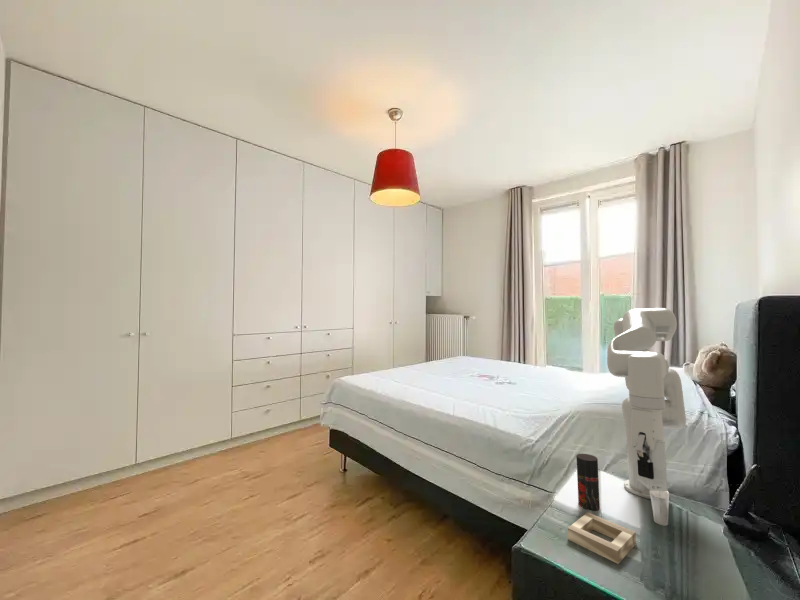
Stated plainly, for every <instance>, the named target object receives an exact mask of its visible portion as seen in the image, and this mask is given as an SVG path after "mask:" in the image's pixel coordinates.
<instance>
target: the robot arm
mask: <svg viewBox="0 0 800 600" xmlns="http://www.w3.org/2000/svg"><path fill="white" fill-rule="evenodd" d="M677 326H678V322H677V317H676V315H675V313H674V312H673V311H672V310H671V309H669V308H665V307H654V308H649V307H647V308H633V309H629V310H627V311H626V312H625V313H623V315H622V318H619V319H617V320H615V321H614V324H613V331H614V335H615V337H614V338H613V339H611V341H610V342H609V343H608V347H607V353H606V355H607V357H606V358H607V359H606V362H607V363H606V364H607V369H608V371H609V373H610V374H611V375H613V376H614V377H617V378H618V377H620V378H624V379H625V380H624V381H625V385H626V388H627V389H628V397H627V398H625V399H623V401H622V403H621V409H622V415H623V419H624V426H625V433H626V436H625V437H626V449H627V453H626V454H627V468H628V469H627V471H628V479H626V480H624V482H623V487H624V489H625V490H627V492H629V493H632V494H634V495H635V496H638V497H641V498H644V499H649V500H651V497H650V490H649V489H648V488H647V487H645V486H644V485H643V484H642V483H641V482H639V481H638V480H637V465H636V451H637V463H638V475H639V476H642V477H645V478H649V479H654V469H653V462H651V460H652V451H654V450H656V448H657V442H658V441H659V440H661V441H663V442H664V436H665V435H664V429H666V430H675V431H679V430H683V429H684V428H685V427H686V424H687V421H686V420H687V418H686V409H685V407H686V406H685V401H684V391H683V386H682V385H683V384H682V379H681V377H680V375H679V373H678V372H677V371H676V370H674V369H671V368H670V365H669V360H668V358H666V357H665V355H664V354H663V353H660V352H656V351H649V349H651V348H653V346H655V344H656V343H657V342H668V341H670V340H672V339H673V337H674V334H675V333H676V330H677ZM647 444H648V446H649V449H647V448H644V446H646V445H647ZM644 451H646V452H648V456H647V454H646V453H645V452H644ZM665 492H667V493H668V494H669V495H670V492H669V491H665Z"/></svg>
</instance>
